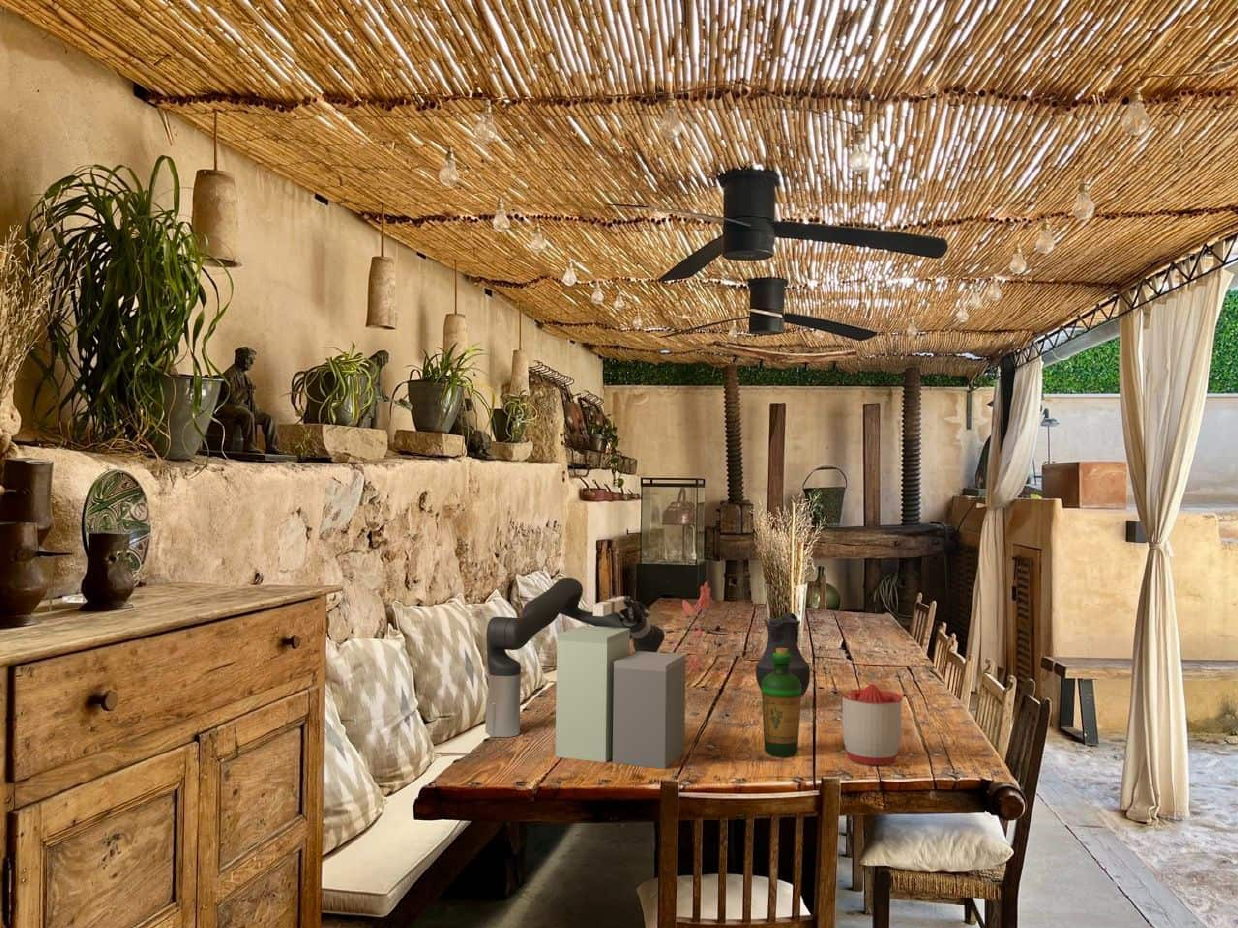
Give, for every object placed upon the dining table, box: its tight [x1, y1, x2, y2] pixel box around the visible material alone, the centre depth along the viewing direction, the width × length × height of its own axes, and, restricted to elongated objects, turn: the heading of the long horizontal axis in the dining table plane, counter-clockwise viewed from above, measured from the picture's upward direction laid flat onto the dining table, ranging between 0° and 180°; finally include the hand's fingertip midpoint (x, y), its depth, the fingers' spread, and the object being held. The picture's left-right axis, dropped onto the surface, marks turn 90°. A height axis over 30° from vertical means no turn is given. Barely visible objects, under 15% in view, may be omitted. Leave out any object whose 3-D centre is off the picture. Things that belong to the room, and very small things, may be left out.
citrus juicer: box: [836, 683, 903, 766], centre depth 257 cm, size 16×17×20 cm
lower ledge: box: [612, 650, 686, 770], centre depth 257 cm, size 18×14×26 cm
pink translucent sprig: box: [681, 581, 725, 677], centre depth 375 cm, size 15×26×35 cm, turn 158°
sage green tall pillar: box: [555, 625, 631, 763], centre depth 262 cm, size 18×14×32 cm
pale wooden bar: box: [592, 595, 631, 616], centre depth 275 cm, size 22×3×3 cm, turn 160°
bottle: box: [761, 648, 802, 758], centre depth 262 cm, size 11×11×28 cm
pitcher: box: [755, 611, 811, 698], centre depth 319 cm, size 17×21×30 cm
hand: (619, 598), depth 281 cm, fingers closed on pale wooden bar, 3 cm apart
